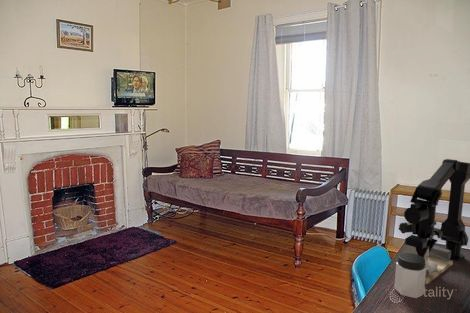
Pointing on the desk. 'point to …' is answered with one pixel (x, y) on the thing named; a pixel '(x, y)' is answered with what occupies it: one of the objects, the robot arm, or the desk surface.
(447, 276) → the desk surface
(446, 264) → the base
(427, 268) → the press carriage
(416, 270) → the jar
